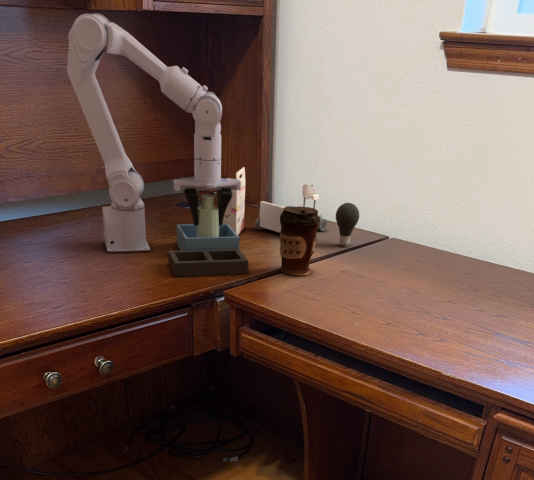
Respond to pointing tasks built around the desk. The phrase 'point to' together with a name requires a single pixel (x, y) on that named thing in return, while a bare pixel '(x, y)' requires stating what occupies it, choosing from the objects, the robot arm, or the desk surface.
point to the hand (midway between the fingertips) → (207, 224)
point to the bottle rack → (207, 262)
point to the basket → (206, 238)
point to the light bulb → (346, 221)
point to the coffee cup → (297, 238)
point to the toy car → (272, 211)
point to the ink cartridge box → (236, 206)
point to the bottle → (207, 218)
